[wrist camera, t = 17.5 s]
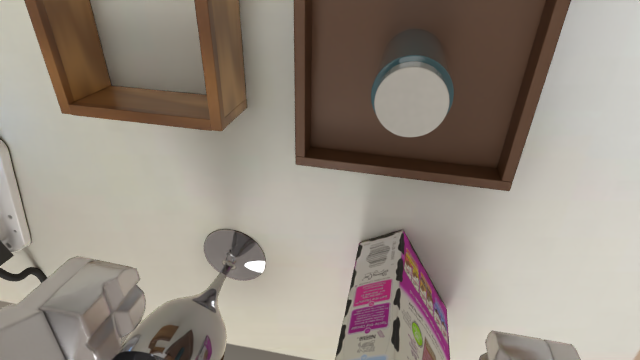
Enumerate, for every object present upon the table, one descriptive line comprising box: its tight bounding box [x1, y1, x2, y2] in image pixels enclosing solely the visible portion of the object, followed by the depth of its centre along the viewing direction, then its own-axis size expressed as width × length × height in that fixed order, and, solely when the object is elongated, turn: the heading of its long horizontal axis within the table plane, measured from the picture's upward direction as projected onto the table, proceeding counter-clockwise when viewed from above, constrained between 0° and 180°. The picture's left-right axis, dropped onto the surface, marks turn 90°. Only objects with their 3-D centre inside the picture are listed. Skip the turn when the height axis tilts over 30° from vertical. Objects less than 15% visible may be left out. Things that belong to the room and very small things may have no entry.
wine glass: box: [112, 229, 266, 360], centre depth 36 cm, size 8×8×15 cm
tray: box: [294, 0, 571, 191], centre depth 27 cm, size 17×17×3 cm
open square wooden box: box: [24, 0, 247, 131], centre depth 29 cm, size 14×14×5 cm
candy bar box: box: [335, 231, 450, 360], centre depth 32 cm, size 11×5×16 cm, turn 30°
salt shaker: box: [371, 29, 454, 137], centre depth 24 cm, size 4×4×9 cm
